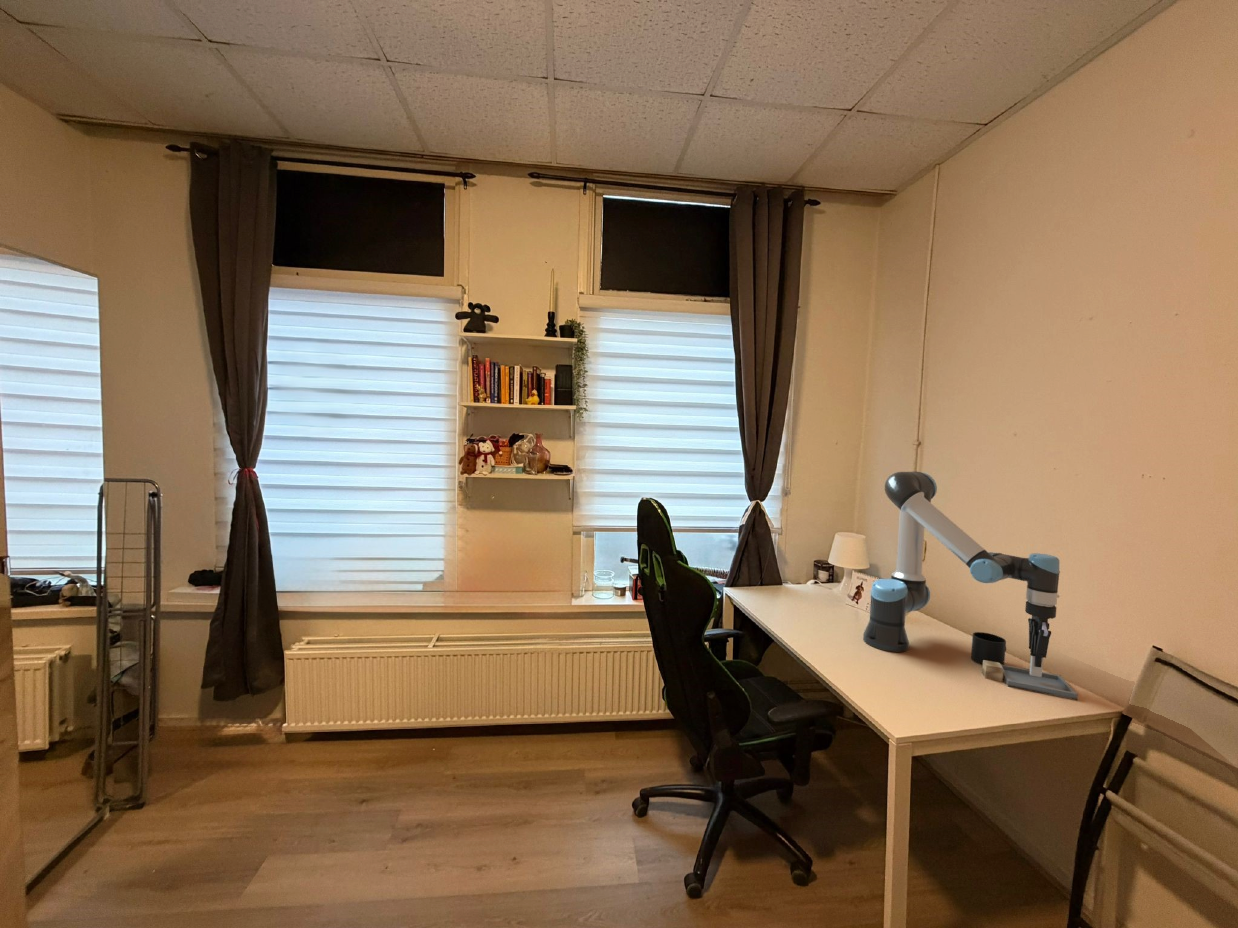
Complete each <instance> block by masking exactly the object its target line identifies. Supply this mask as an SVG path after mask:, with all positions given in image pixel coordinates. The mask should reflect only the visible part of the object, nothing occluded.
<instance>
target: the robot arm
mask: <svg viewBox="0 0 1238 928" xmlns="http://www.w3.org/2000/svg"><path fill="white" fill-rule="evenodd" d="M937 490H938V487H937V483H936V481H935V479H934V478H933V477H932V476H931V475H930V474H929V473H926V472H922V471H914V470H913V471H897V472H894V473H892V474H891V475H889V476H888V478H887V479H886V480H885V483H884V491H885V492H884V493H885V494H886V497H887V498H888V499H889V500H890V501H891V502H892V503H893V505H894V506H896V507H897V508H898V509H899V518H898V519H899V520H898V531H897V532H898V535H897V551H896V569H895V571H894V572H892V573H891V578H881V579H876V580H875V581H874V582H873V583H872V585H871V590H870V607H869V621H868V622H867V625H866V627H865V629H864V632H863V636H862V639H863V640H862V641H863V642H864V643H865V642H866V643H865V644H867V645H869V646H870V647H873V648H875V649H879V650H882V651H886V652H894V653H903V652H907V651H908V650H909V649H910V647H909V646H910V642H909V639H908V634H907V630H906V627H905V625H906V624H905V623H906V614H908V613H911V612H916V611H920V610H921V609H923V608H925V607H926V606H927V605H928V604H929V602H930V598H931V590H930V588H929V587H928V586H927V577H925V576H924V575H923V558H924V541H925V540H924V539H925V530H926V531H928V532H929V533H930V534H931V535H932V536H934V537H935V539H937V540H938V541H939V542H940V543H941V544H943V545H944V546H945V547H946V549H948V550H949V551H950V552H951V553H952V554H953V555H954V556H955V557H957V558H958V559H959V560H960V561H961V562H962V563H963V564H965V565H966V566H967V567H968V568H969V572H970V574H971V576H972V578H973V579H974V580H976V582H979V583H982V584H994V583H997V582H999V581H1003V580H1005V579H1013V580H1017V581H1018V580H1019V581H1020V582H1021V581H1023V582H1027V584H1026V593H1025V599H1026V601H1025V606H1024V607H1025V608H1024V609H1025V613H1026V614H1027V615H1030V616H1031V617H1029V618H1028V649H1029V650H1030V653H1029V654H1030V661H1029V662H1030V663H1029V670H1030V675H1032V676H1037V677H1042V672H1043V666H1044V665H1043V663H1044V658H1045V659H1046V658H1047V654H1048V648H1049V644H1050V643H1049V642H1050V638H1051V635H1052V631H1051V630H1049V629H1050V623H1049V620H1051V619H1055V618H1057V617H1056V616H1057V604H1058V599H1059V598H1060V595H1059V594H1058V592H1059V591H1058V590H1059V583H1060V582H1059V580H1060V573H1061V571H1060V559H1059V558H1058V557H1057V556H1055V555H1051V554H1047V553H1038V552H1036V553H1035V552H1033V553H1030V554H1029V557H1022V556H1017V555H1016V556H1015V555H1010V554H1006V553H1005V554H1004V553H1001V552H993V551H989V552H988V551H987V550H986V549H985V548H984V547H982V546H981V544H979V543H978V542H977V541H976V540H974V539H973V538H972V537H971V536H970V535H969V534H967V533H966V532H965V531H964V530H963V529H962V528H961V527H960V526H959V525H957V524H956V523H954V521H952V520H951V518H949V517H948V516H946V515H945V514H944V513H943V512H942V511H940V509H938V508H937V507H936V506H935V505H934V504H932V499H933V498H934V497H935V496H936V494H937Z"/></svg>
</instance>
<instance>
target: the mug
mask: <svg viewBox="0 0 1238 928" xmlns="http://www.w3.org/2000/svg"><path fill="white" fill-rule="evenodd" d="M971 640H972V641H971V649H970V650H971V654H970V659H971V660H972V661H973V662H974V663H976V664H978V665H981V666H983V660H987V661H992V662H998V663H1000V664H1002V665H1005V660H1006V659H1005V658H1006V657H1005V656H1006V652H1007V641H1006V639H1005V638H1003V637H1001V636H999V635H996V634H993V633H988V632H981V631H978V632H977V631H976V632H973V633H972V639H971Z"/></svg>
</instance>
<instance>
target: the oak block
mask: <svg viewBox="0 0 1238 928" xmlns="http://www.w3.org/2000/svg"><path fill="white" fill-rule="evenodd" d="M981 674H982V675H983V677H984V679H986V680H987V679H988V680H991V681H998V682H1002V683H1003V667H1002V666H1001V664H1000V663H998V662H992V661H987V660H983V665H982V670H981Z"/></svg>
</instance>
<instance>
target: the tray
mask: <svg viewBox="0 0 1238 928" xmlns="http://www.w3.org/2000/svg"><path fill="white" fill-rule="evenodd" d="M1001 666H1002V667H1003V678H1002V681H1004V683H1005V684H1006V686H1007V687H1009V688H1014V689H1018V690H1024V691H1029V692H1034V693H1039V694H1045V695H1050V696H1055V697H1060V698H1065V699H1069V700H1074V701H1078V695H1079V694H1078V693H1077V692H1076V691H1075V690H1074V688H1073V687H1072V686H1070V684H1069V683H1068V682H1067V681H1066V679H1064V677H1062V675H1061V674H1055V673H1048V672H1046V671H1045V672H1043V671H1042V677H1037V676H1032V675H1030V668H1029V669H1027V668H1023V667H1019V666H1018V667H1017V666H1012V665H1006V664H1004V665H1002V664H1001Z"/></svg>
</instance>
